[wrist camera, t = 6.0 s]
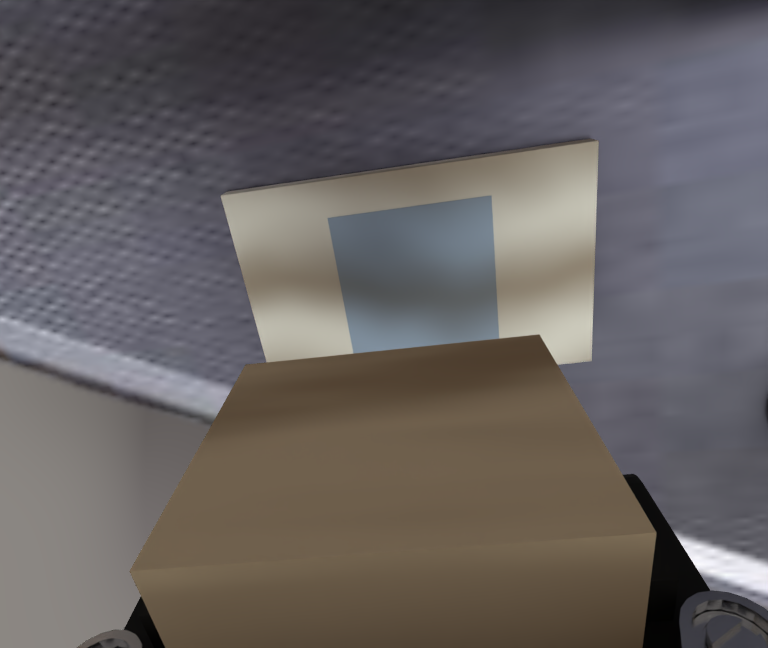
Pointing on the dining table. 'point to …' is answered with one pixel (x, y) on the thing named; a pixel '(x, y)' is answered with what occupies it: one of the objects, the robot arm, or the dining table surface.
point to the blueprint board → (424, 254)
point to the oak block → (401, 511)
